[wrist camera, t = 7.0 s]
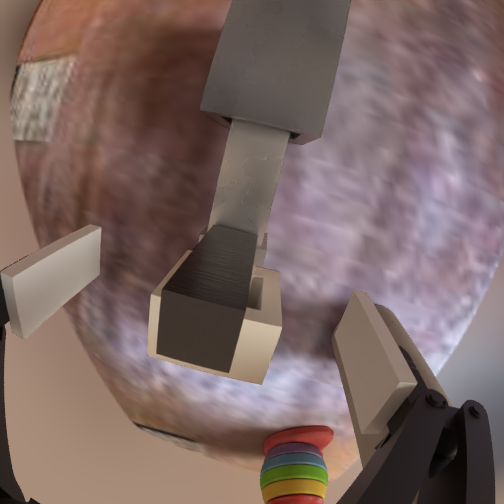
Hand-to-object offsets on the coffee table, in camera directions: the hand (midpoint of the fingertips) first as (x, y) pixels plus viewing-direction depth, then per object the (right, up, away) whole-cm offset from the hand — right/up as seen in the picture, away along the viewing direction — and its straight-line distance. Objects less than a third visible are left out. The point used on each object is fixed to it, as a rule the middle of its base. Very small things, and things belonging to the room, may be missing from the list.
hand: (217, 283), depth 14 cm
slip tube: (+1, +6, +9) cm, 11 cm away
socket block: (-1, -2, +15) cm, 15 cm away
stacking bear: (+8, -28, +23) cm, 37 cm away
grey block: (+4, +16, +9) cm, 19 cm away
